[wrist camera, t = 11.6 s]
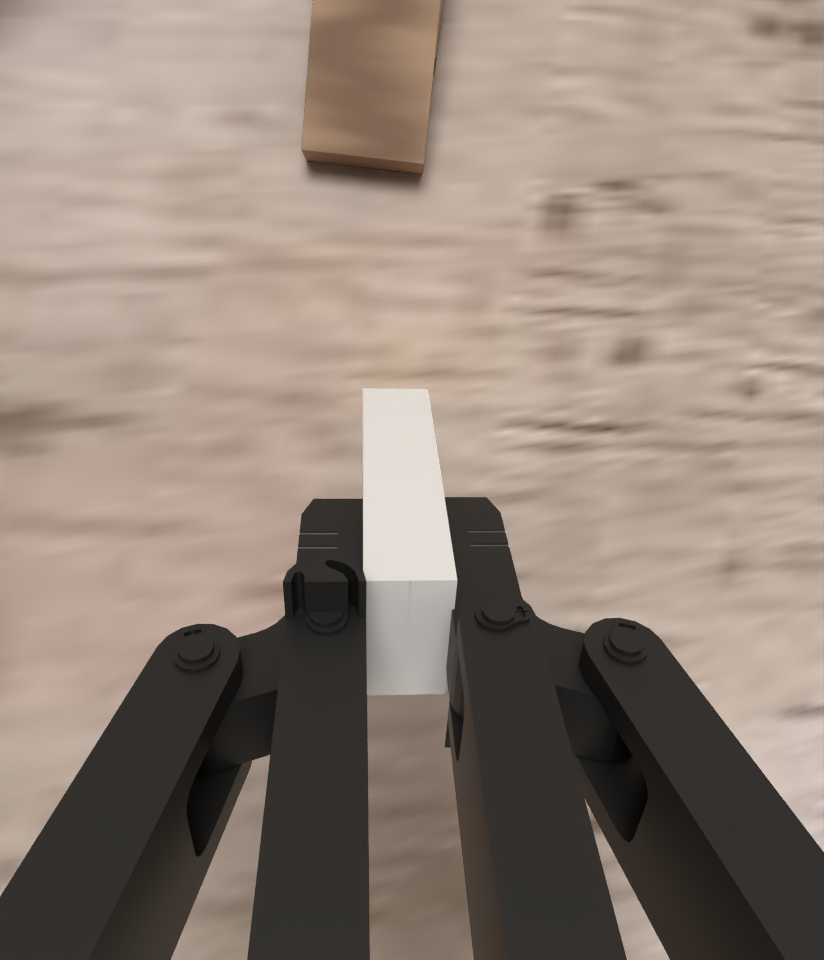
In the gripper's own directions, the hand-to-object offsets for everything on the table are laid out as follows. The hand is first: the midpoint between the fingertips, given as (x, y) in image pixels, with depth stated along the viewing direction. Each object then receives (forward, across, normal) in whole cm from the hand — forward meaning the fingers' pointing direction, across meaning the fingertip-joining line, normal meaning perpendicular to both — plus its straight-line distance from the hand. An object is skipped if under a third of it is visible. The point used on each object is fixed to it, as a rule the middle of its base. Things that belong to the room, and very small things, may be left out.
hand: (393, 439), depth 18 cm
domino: (+18, -1, +2) cm, 18 cm away
